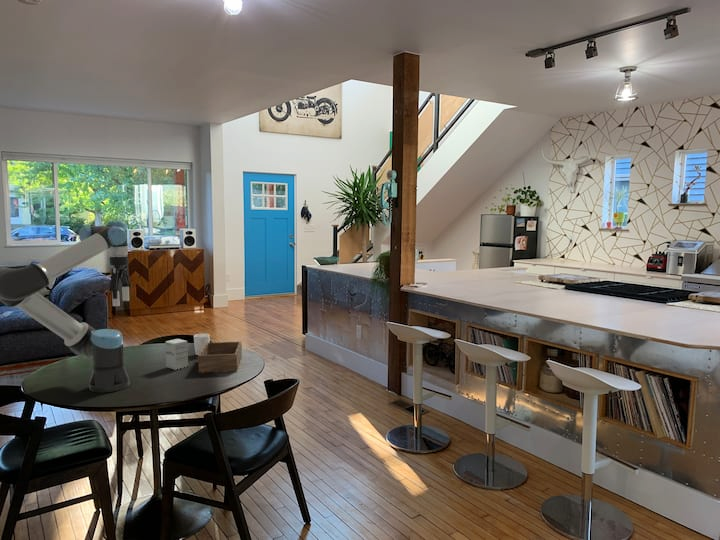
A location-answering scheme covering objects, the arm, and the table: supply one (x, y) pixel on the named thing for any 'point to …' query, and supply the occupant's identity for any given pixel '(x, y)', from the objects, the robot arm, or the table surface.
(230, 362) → the walnut bin
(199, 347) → the white cup
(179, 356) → the supplement box
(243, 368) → the table surface
